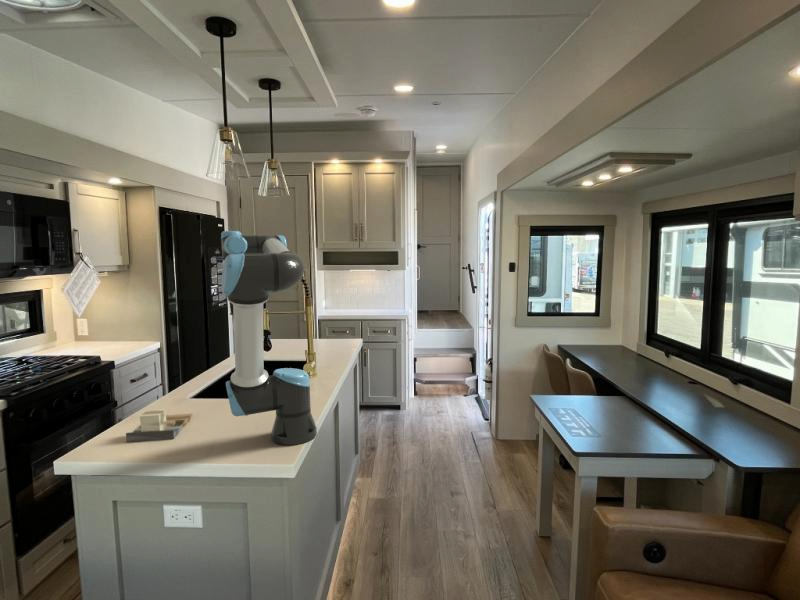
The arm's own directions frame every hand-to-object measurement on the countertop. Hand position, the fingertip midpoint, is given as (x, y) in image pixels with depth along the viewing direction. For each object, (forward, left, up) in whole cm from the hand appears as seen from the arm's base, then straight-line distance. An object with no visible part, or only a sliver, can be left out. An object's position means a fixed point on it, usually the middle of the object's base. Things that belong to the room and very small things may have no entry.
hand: (237, 330), depth 176 cm
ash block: (-14, +30, -31) cm, 45 cm away
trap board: (-8, +28, -32) cm, 44 cm away
